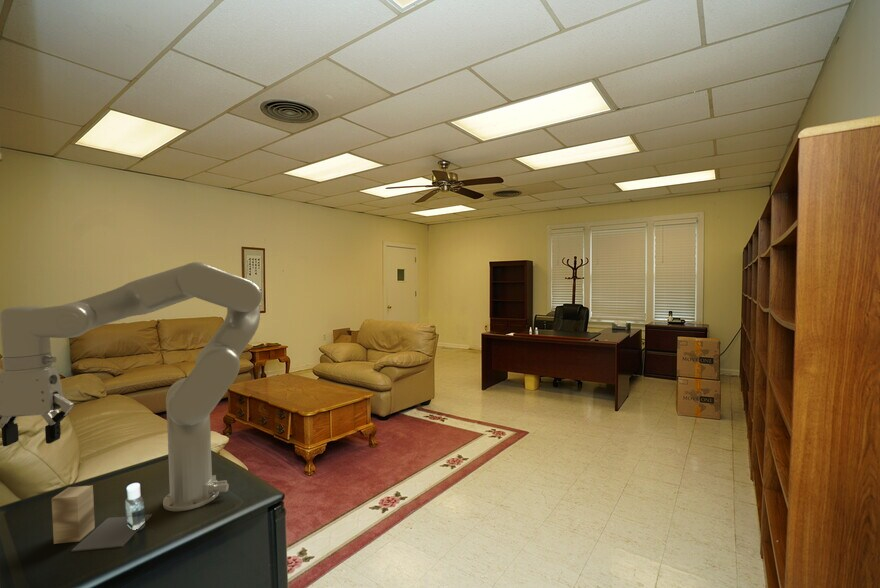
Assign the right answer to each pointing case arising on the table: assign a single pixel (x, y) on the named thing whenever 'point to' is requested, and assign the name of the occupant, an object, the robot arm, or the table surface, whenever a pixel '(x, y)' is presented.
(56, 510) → the maple block
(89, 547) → the mat
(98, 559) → the table surface
